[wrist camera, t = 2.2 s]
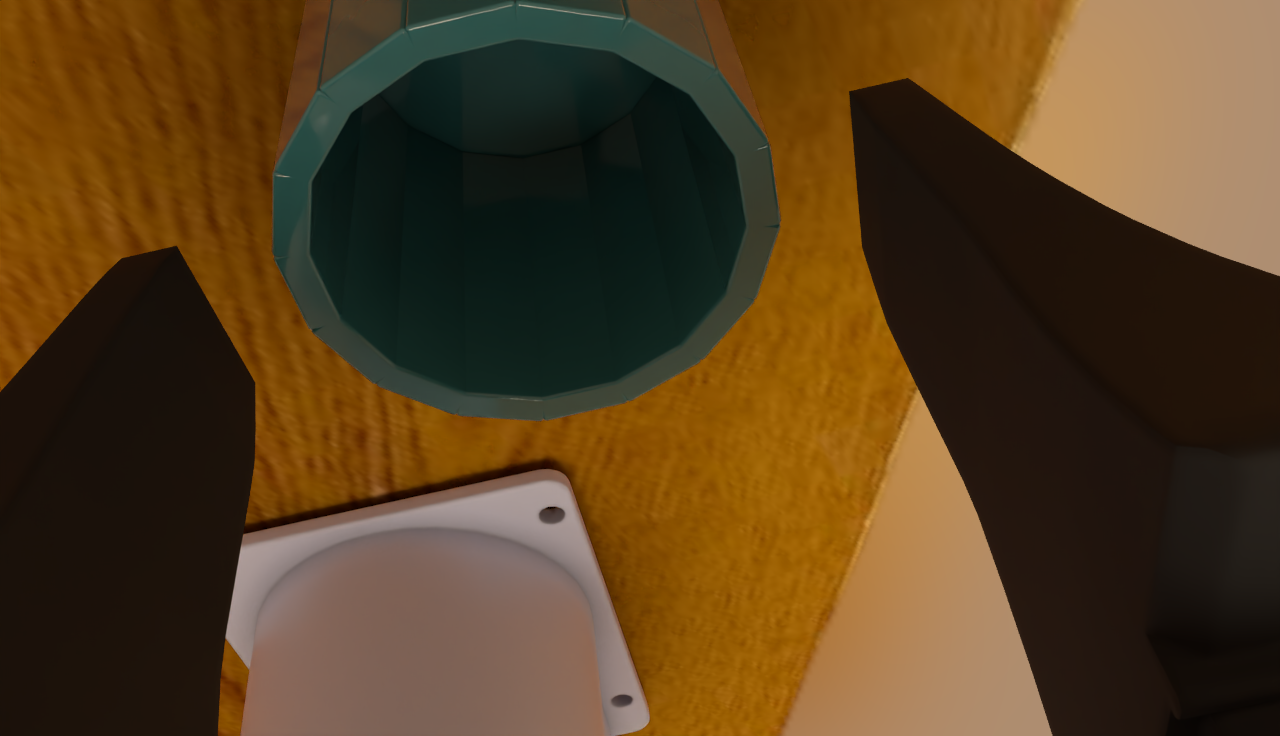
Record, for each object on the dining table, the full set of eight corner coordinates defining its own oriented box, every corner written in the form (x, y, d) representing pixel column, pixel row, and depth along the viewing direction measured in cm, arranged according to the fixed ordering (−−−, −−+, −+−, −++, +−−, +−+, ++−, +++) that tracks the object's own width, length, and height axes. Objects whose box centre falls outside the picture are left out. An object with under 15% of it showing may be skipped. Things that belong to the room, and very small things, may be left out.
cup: (721, 112, 19) (802, 366, 15) (391, 188, 20) (374, 460, 15) (661, -248, 16) (743, -54, 11) (255, -149, 16) (181, 80, 11)
